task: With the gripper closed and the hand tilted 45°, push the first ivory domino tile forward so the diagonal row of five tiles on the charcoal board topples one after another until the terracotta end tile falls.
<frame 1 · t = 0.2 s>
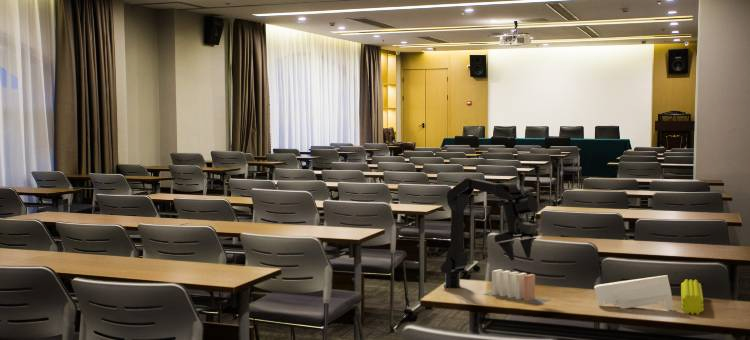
hand: (520, 259, 278), 16 cm above the table, tool pointing down, fingers open, 9 cm apart
tile 5 end: (529, 299, 280), resting on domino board
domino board: (516, 298, 284), on the table
shelf bracket: (633, 309, 270), on the table
tile 4: (521, 297, 283), resting on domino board
tile 3: (512, 296, 285), resting on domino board
decorative object: (691, 306, 275), on the table
tile 1: (497, 293, 290), resting on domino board
tile 2: (504, 295, 288), resting on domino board
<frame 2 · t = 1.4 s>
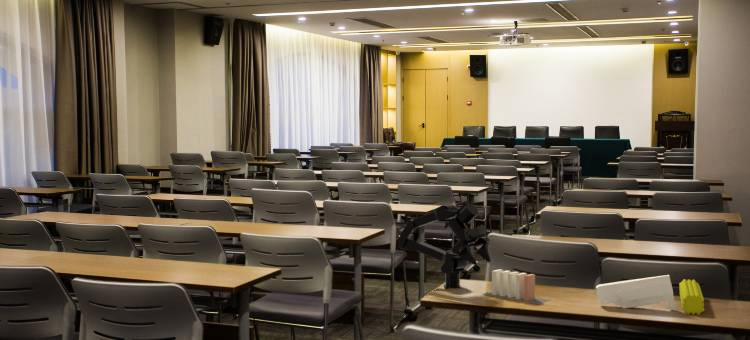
hand: (483, 263, 294), 12 cm above the table, tool tilted 45°, fingers open, 9 cm apart
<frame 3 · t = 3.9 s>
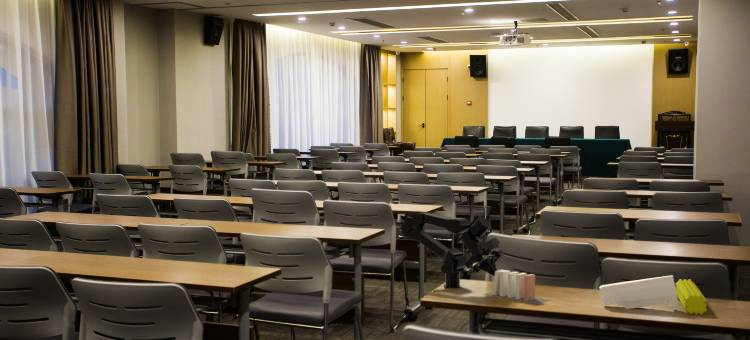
hand: (497, 276, 290), 7 cm above the table, tool tilted 45°, fingers closed
shelf bracket: (638, 309, 269), on the table
tile 1: (497, 293, 290), point 1 cm above the table, tilted 9°, touching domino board
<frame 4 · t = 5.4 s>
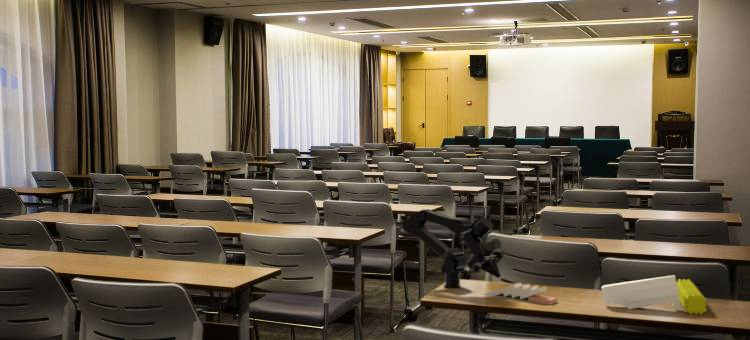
hand: (499, 277, 289), 7 cm above the table, tool tilted 45°, fingers closed
tile 5 end: (531, 297, 280), point 1 cm above the table, tilted 90°, touching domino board, tile 4
tile 4: (523, 296, 282), point 1 cm above the table, tilted 65°, touching tile 3, tile 5 end
tile 3: (515, 295, 284), point 1 cm above the table, tilted 65°, touching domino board, tile 2, tile 4
tile 1: (499, 292, 289), point 1 cm above the table, tilted 65°, touching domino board, tile 2
tile 2: (507, 293, 287), point 1 cm above the table, tilted 65°, touching tile 1, tile 3
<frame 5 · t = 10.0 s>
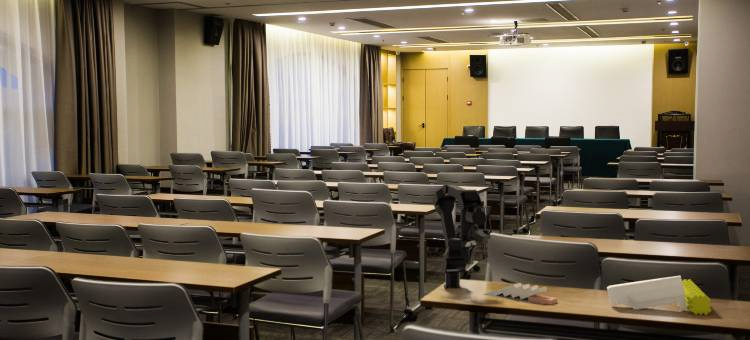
hand: (467, 263, 290), 12 cm above the table, tool pointing down, fingers closed
shelf bracket: (646, 309, 268), on the table
at the end: tile 1 tilted 65°; tile 5 end tilted 90° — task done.
